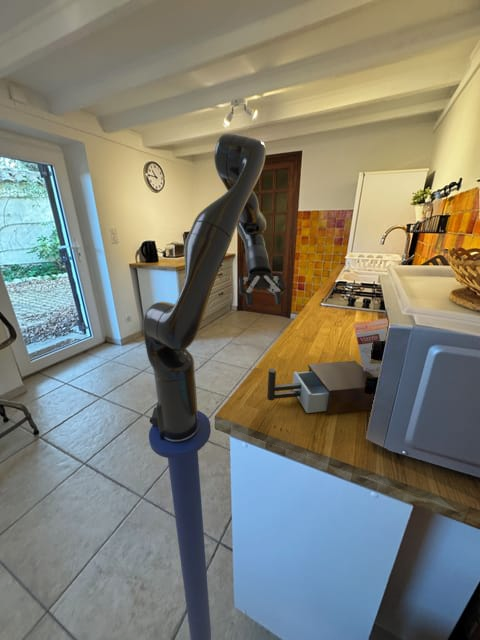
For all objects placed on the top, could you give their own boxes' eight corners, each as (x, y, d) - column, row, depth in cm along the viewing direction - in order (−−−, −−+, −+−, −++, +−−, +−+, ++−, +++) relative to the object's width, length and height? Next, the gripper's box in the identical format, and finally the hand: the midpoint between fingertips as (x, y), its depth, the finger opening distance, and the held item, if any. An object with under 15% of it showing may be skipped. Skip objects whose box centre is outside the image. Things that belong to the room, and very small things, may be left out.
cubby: (326, 414, 67) (329, 390, 65) (305, 385, 80) (308, 364, 77) (379, 409, 69) (384, 385, 67) (351, 381, 82) (355, 360, 80)
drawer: (272, 416, 66) (274, 382, 63) (262, 391, 77) (263, 360, 73) (354, 408, 70) (360, 374, 66) (334, 384, 80) (338, 355, 76)
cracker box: (368, 391, 76) (355, 333, 69) (365, 378, 81) (352, 322, 74) (423, 387, 71) (415, 323, 63) (416, 373, 76) (408, 312, 68)
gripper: (237, 255, 79) (243, 300, 73) (281, 254, 82) (290, 298, 75) (235, 269, 86) (240, 311, 79) (275, 268, 88) (284, 309, 81)
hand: (264, 305), depth 77 cm, fingers open, 8 cm apart
